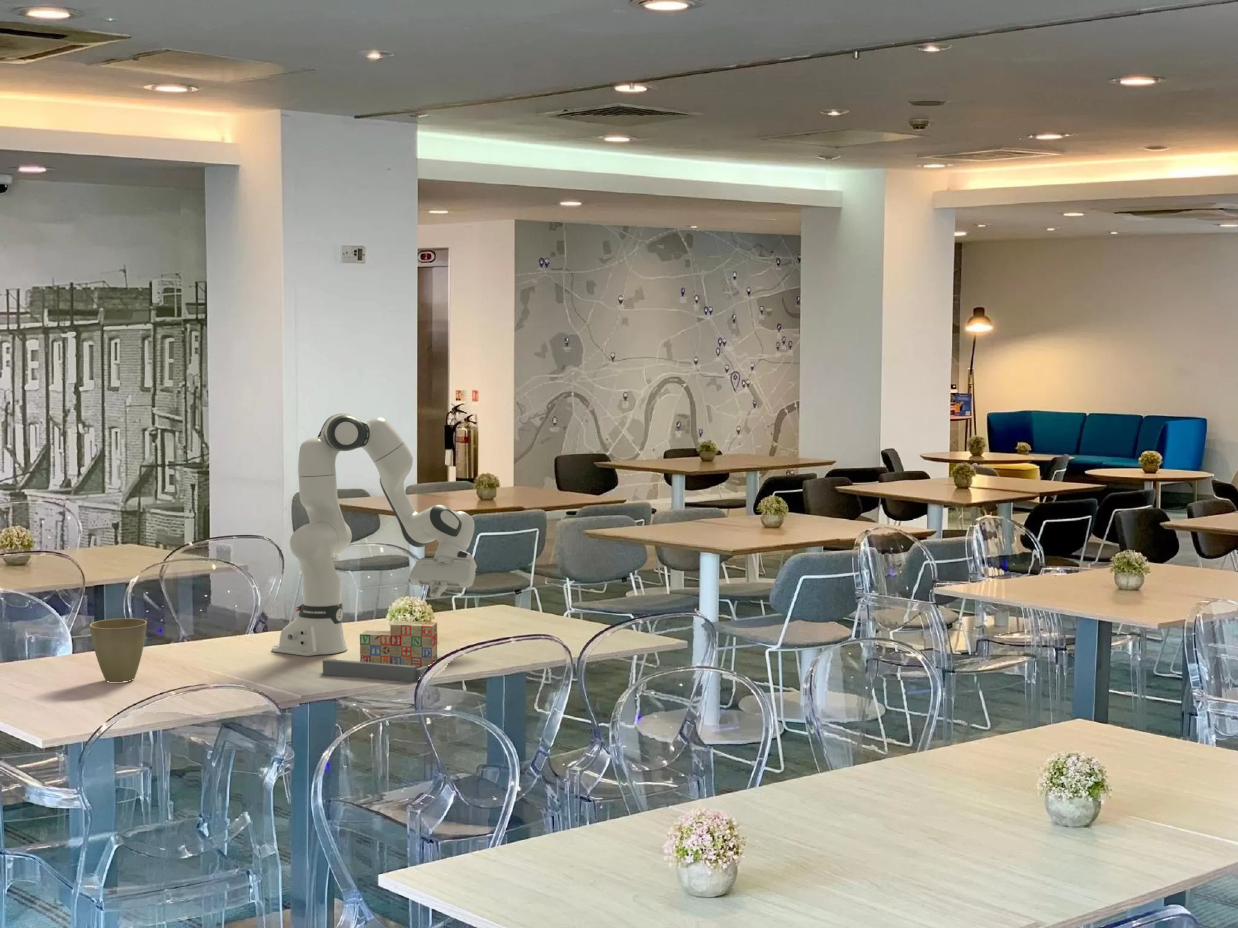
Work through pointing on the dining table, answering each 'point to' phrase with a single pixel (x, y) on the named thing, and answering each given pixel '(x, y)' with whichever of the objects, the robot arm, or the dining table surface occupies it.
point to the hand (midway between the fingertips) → (434, 595)
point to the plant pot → (118, 647)
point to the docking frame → (372, 670)
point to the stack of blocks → (401, 644)
